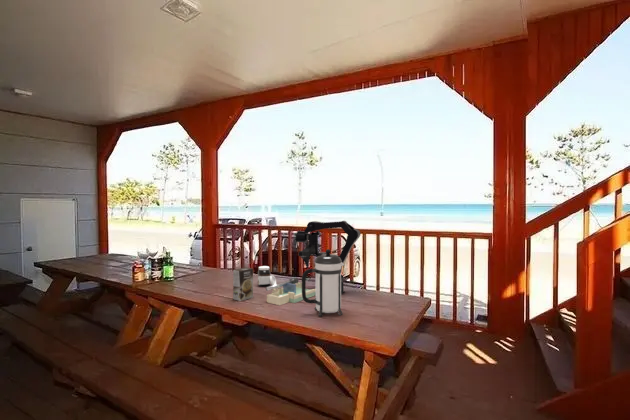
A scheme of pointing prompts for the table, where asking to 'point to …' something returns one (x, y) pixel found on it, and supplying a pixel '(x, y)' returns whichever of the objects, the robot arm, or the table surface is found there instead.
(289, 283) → the rod
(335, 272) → the coffee press
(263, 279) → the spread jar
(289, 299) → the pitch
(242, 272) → the coffee box
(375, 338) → the table surface
